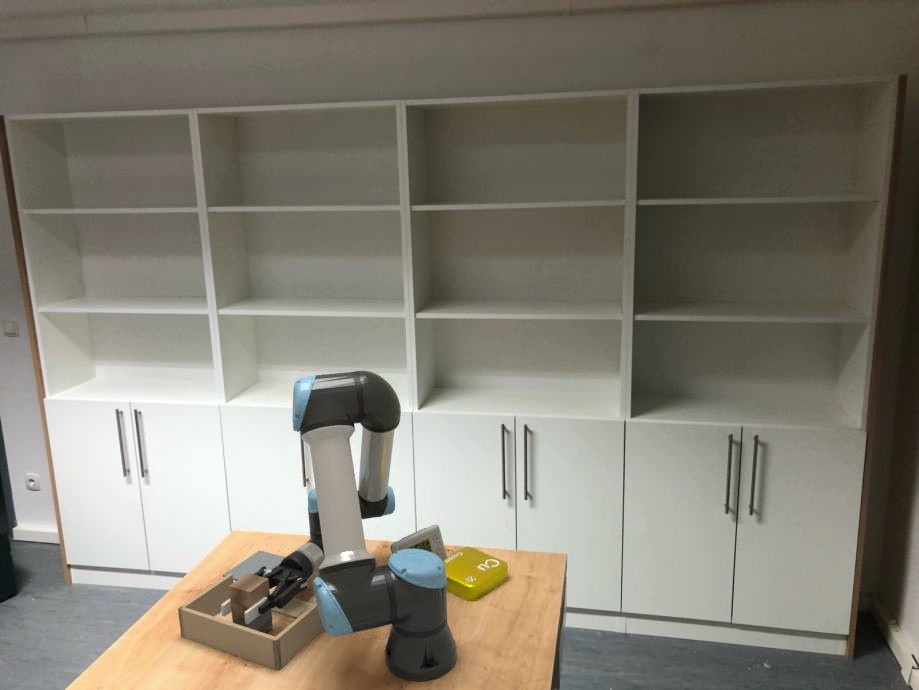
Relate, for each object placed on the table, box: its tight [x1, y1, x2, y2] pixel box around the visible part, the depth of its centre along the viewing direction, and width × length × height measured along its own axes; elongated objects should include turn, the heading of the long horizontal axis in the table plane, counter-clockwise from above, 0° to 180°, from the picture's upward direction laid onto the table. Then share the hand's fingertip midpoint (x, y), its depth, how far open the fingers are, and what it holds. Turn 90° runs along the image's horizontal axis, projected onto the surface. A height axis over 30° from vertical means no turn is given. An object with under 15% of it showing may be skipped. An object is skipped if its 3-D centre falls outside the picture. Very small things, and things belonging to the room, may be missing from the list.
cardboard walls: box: [177, 574, 325, 671], centre depth 162 cm, size 28×22×7 cm
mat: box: [222, 549, 286, 582], centre depth 188 cm, size 10×14×1 cm
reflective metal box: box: [229, 573, 274, 634], centre depth 159 cm, size 6×6×12 cm
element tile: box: [442, 546, 509, 602], centre depth 179 cm, size 15×15×5 cm
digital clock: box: [390, 524, 448, 560], centre depth 183 cm, size 16×9×11 cm, turn 122°
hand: (234, 614), depth 154 cm, fingers closed on reflective metal box, 6 cm apart
